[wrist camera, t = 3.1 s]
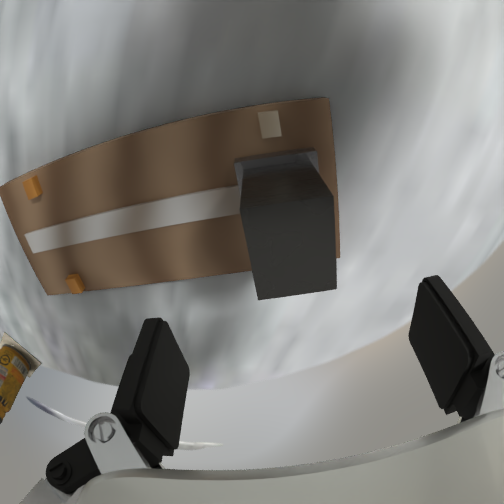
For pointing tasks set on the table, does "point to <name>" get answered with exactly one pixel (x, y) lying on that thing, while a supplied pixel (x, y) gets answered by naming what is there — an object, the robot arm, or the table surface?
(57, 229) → the fader board
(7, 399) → the condiment
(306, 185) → the fader slider
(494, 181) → the table surface
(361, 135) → the table surface
